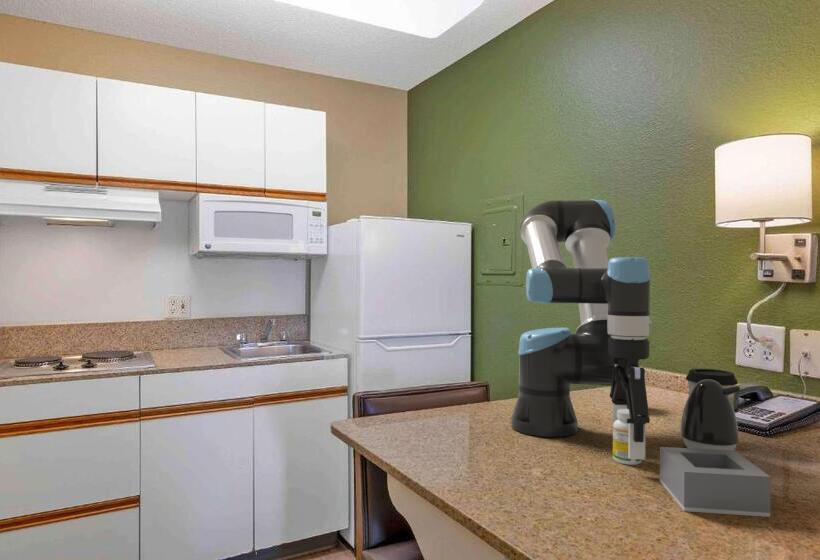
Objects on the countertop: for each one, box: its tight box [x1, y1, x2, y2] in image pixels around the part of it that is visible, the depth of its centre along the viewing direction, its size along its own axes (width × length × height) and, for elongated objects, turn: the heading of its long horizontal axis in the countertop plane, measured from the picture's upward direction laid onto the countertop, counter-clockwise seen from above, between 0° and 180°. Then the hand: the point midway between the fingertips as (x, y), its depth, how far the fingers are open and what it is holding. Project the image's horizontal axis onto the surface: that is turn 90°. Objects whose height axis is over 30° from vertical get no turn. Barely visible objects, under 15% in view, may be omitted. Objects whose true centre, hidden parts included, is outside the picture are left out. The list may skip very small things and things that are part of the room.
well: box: [659, 446, 772, 518], centre depth 86 cm, size 12×12×6 cm
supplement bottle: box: [612, 409, 643, 466], centre depth 103 cm, size 5×5×10 cm
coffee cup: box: [685, 368, 739, 407], centre depth 116 cm, size 10×10×15 cm
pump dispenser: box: [679, 379, 741, 451], centre depth 106 cm, size 10×10×15 cm
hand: (627, 447), depth 103 cm, fingers open, 13 cm apart
